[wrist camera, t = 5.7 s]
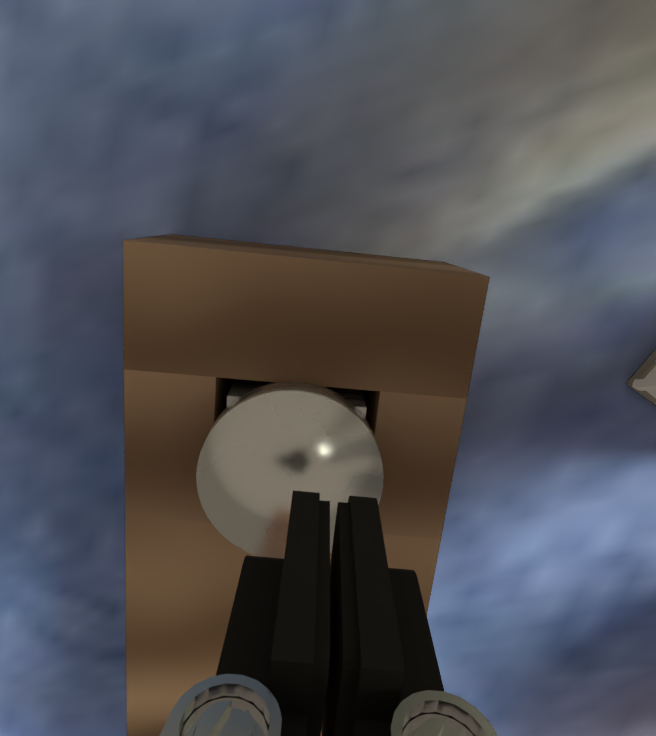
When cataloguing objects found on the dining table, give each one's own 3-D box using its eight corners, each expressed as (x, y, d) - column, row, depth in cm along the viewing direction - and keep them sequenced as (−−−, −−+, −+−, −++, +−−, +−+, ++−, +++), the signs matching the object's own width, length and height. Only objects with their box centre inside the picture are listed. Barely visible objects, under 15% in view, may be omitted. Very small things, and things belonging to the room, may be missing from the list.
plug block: (171, 234, 19) (123, 240, 14) (444, 262, 19) (489, 276, 14) (162, 740, 25) (127, 864, 20) (365, 749, 26) (379, 871, 21)
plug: (232, 333, 19) (199, 384, 13) (369, 346, 20) (395, 401, 14) (226, 459, 21) (193, 555, 15) (354, 468, 21) (371, 566, 15)
